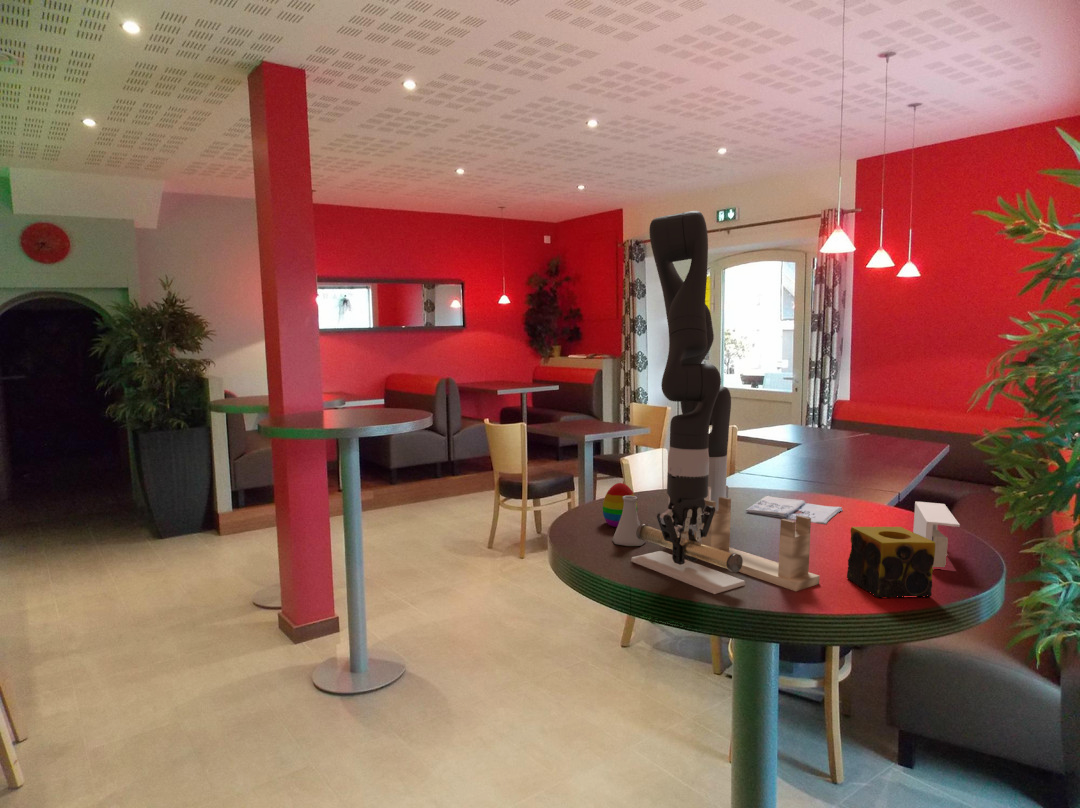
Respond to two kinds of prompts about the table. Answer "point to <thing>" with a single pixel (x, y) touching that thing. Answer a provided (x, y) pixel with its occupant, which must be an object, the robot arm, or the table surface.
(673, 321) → the robot arm
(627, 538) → the flask
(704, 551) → the brass rail
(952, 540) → the table surface
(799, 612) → the table surface
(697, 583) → the grey mat
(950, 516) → the white angled piece
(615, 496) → the decorative egg
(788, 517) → the open book
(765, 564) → the rail stand
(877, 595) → the yellow cube with hole
